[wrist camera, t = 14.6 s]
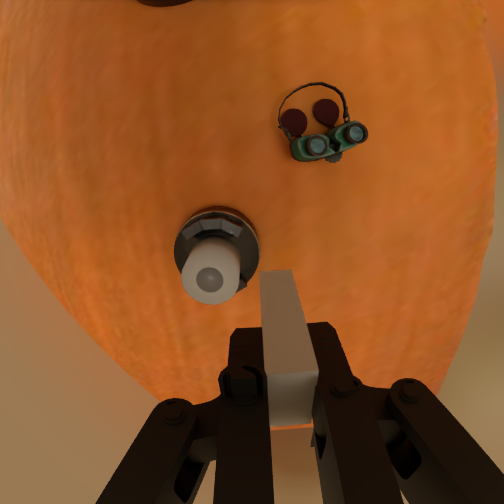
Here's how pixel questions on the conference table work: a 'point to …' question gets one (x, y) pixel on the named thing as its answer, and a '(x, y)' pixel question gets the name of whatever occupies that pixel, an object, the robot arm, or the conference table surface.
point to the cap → (212, 270)
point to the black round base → (226, 225)
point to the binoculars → (320, 144)
